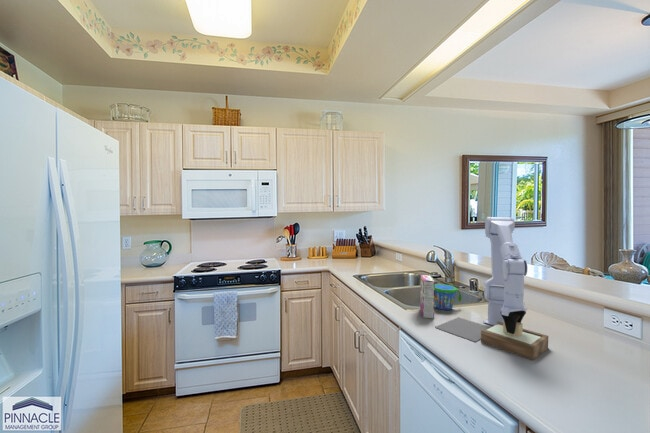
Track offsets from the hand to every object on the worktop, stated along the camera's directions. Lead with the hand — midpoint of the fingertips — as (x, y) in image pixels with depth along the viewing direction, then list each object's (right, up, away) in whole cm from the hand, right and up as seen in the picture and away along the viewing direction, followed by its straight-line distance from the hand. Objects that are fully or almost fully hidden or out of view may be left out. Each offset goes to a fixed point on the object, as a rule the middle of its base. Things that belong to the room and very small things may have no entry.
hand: (512, 331), depth 105 cm
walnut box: (0, -5, 0) cm, 5 cm away
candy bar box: (-20, -4, +29) cm, 36 cm away
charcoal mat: (-10, -4, +13) cm, 17 cm away
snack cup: (-9, -4, +38) cm, 39 cm away
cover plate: (0, -2, 0) cm, 2 cm away
